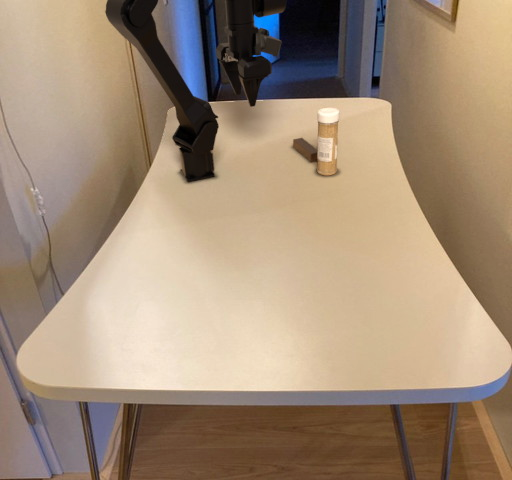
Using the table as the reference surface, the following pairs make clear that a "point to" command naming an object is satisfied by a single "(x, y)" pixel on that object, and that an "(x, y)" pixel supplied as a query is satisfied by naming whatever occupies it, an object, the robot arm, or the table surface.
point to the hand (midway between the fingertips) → (245, 100)
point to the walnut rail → (305, 149)
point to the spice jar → (327, 140)
